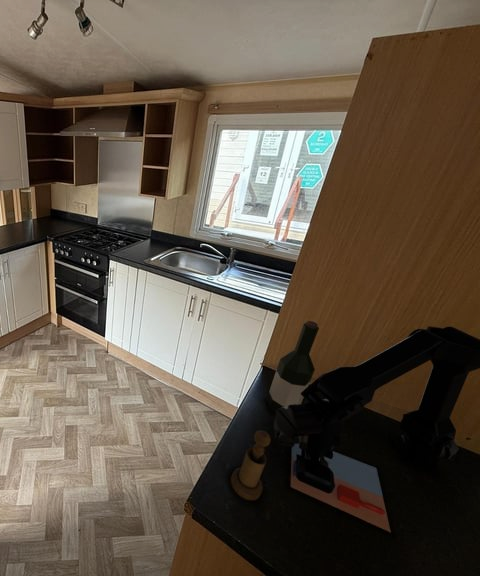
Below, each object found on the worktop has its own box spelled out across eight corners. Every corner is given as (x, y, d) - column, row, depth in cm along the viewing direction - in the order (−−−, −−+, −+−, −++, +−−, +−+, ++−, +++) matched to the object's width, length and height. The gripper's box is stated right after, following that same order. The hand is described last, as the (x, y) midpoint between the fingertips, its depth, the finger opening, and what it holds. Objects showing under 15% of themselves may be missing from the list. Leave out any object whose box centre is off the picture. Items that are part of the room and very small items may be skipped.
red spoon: (382, 508, 68) (385, 503, 67) (384, 521, 66) (388, 516, 65) (336, 488, 72) (339, 483, 71) (337, 500, 69) (340, 495, 69)
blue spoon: (333, 481, 72) (336, 477, 71) (335, 493, 70) (337, 488, 69) (293, 464, 76) (295, 459, 75) (293, 475, 73) (295, 470, 73)
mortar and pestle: (264, 504, 69) (286, 451, 61) (233, 498, 70) (251, 445, 62) (256, 475, 75) (275, 423, 67) (228, 470, 76) (243, 418, 68)
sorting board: (375, 469, 76) (376, 468, 76) (389, 533, 64) (390, 532, 64) (291, 436, 85) (292, 435, 84) (289, 488, 72) (290, 486, 72)
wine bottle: (297, 404, 95) (331, 320, 82) (296, 423, 89) (332, 336, 75) (267, 393, 99) (294, 312, 86) (264, 410, 93) (292, 326, 79)
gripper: (283, 384, 77) (268, 428, 84) (279, 441, 63) (261, 488, 70) (338, 402, 72) (316, 447, 79) (346, 468, 58) (319, 516, 65)
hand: (302, 471), depth 73 cm, fingers closed on blue spoon, 3 cm apart
